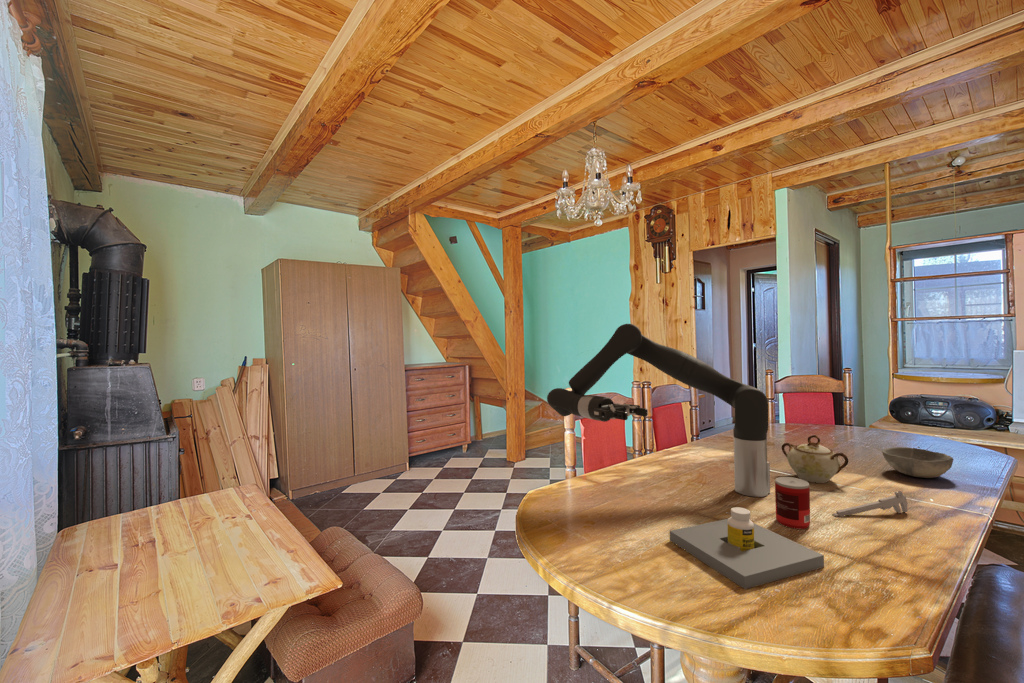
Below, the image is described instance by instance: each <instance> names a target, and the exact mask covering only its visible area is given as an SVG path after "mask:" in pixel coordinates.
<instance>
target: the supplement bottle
mask: <svg viewBox="0 0 1024 683" xmlns="http://www.w3.org/2000/svg"><path fill="white" fill-rule="evenodd" d="M727 519H728V523H727V524H728V544H730V545H732V546H733V547H735V548H737V549H739V550H741V551H746V550H750V549H754V524H753V523H754V522H753V521H752V520H751V511H750V510H749V509H747V508H745V507H739V506H736V507H732V508H730V517H728V518H727Z"/></svg>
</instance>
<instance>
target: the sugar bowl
mask: <svg viewBox="0 0 1024 683" xmlns="http://www.w3.org/2000/svg"><path fill="white" fill-rule="evenodd" d="M812 438H813V439H814V438H816V439H817V441H816V442H811V439H812ZM820 443H821V439H820V437H819V436H818V435H817V434H812V435H810V436H808V438H807V443H802V444H797V445H795V444H792V443H790V442H784V443H783V444H782V445H781V452H782V453H783V454H784V456H785V457H786V459H787V462H788V465H789V466H790V468H791V470H793V472H794V473H795V474H796V476H797V478H798V479H802V480H804V481H807V482H808V483H810V482H811V483H815V482H816V484H823V483H828V482H829V481H830V480H831V479H832V478H833V477H834V476H835V475H838V474H839V473H840V472H841V471H842V470H843V469H844V468H845V467H847V465H848V464H849V459H848V456H847V455H846V454H845V453H844V452H834V451H833V450H832V449H830V448H828V447H825V446H823V445H821V444H820ZM787 446H788V447H789V449H788V452H787V451H786V450H785V448H786V447H787ZM839 457H842V458H843V459H844V462H843V464H842V465H841V460H840V458H839Z"/></svg>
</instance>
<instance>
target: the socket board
mask: <svg viewBox="0 0 1024 683" xmlns="http://www.w3.org/2000/svg"><path fill="white" fill-rule="evenodd" d="M728 519H729V518H724V519H719V520H714V521H710V522H706V523H705V522H704V523H700V524H696V525H691V526H687V527H682V528H677V529H672V530H669V542H671V541H672V542H674V543H675V544H677V545H678V546H677V545H676V546H677V547H679V546H680V547H681V548H680V547H679V548H680V549H682V548H683V549H685V550H686V551H687V552H686V551H685V550H684V551H685V552H686V553H688V552H689V553H690V554H689V553H688V554H689V555H691V554H692V555H691V556H693V557H694V556H695V557H694V558H696V559H697V560H699V561H701V562H702V563H703V564H705V565H706V566H708V567H710V568H711V569H713V570H714V571H716V572H717V573H719V574H720V575H722V576H724V577H725V578H727V579H729V580H730V581H731V582H734V583H735V584H737V585H738V586H739V587H740V588H743V589H744V590H747V589H751V588H753V587H754V588H755V587H757V586H761V585H765V584H769V583H771V582H775V581H778V580H782V579H786V578H789V577H794V576H796V575H800V574H803V573H808V572H810V571H815V570H818V569H822V568H824V567H825V557H824V556H825V555H824V554H822V553H820V552H818V551H816V550H813V549H811V548H809V547H807V546H805V545H802V544H800V543H799V542H796V541H794V540H791V539H790V538H788V537H785V536H783V535H780V534H779V533H777V532H774V531H772V530H770V529H768V528H766V527H763V526H761V525H759V524H757V523H755V522H753V524H754V549H750V550H746V551H741V550H739V549H737V548H735V547H733V546H732V545H730V544H728V524H727V523H728ZM672 542H671V543H672ZM674 543H673V544H674ZM675 544H674V545H675ZM683 549H682V550H683Z"/></svg>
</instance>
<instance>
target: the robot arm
mask: <svg viewBox="0 0 1024 683" xmlns="http://www.w3.org/2000/svg"><path fill="white" fill-rule="evenodd" d="M627 354H628V355H630V356H633V357H634V358H638V359H640V360H642V361H644V362H647V363H648V364H650V365H652V366H653V367H655V368H656V369H658V371H661V372H662V373H664V374H666V375H668V376H669V377H671V378H673V379H675V380H677V381H678V382H680V383H682V384H684V385H687V386H688V387H691V388H692V389H693V388H694V389H696V390H699V391H701V392H705V393H708V394H711V395H713V396H714V397H717V398H719V399H720V400H721V401H723V402H725V403H726V404H728V405H729V406H731V407H732V408H734V427H733V464H734V465H733V466H734V467H733V471H734V472H733V473H734V475H733V476H734V491H735V492H736V493H738V494H739V495H743V496H747V497H754V498H755V497H757V498H761V497H767V496H768V495H769V494H770V493H771V467H770V465H771V464H770V462H769V461H768V431H769V400H768V398H767V396H766V394H765V393H764V392H763V391H761V390H760V389H758V387H757V388H756V387H754V386H752V385H749V384H746V383H743V382H741V381H738V380H736V379H733V378H731V377H728V376H727V375H724V374H722V373H721V372H720V371H718V370H716V369H715V368H714V367H712V366H710V365H709V364H707V363H705V362H704V361H702V360H701V359H699V358H697V357H695V356H693V355H690V354H689V353H687V352H684V351H682V350H679V349H676V348H673V347H671V346H666V345H662V344H660V343H658V342H655V341H654V340H652V339H650V338H649V337H647V336H645V335H643V334H642V331H641V329H640V328H639V327H638V326H637V325H635V324H633V323H623V324H621V325H620V326H618V327H617V328H616V329H615V331H614V333H613V335H612V336H611V337H610V338H609V340H608V341H607V342H606V343H605V345H604V346H603V347H602V348H601V349H600V350H599V352H598V353H597V354H595V355H594V356H593V357H592V358H591V359H590V360H589V361H588V362H587V363H586V364H585V365H584V366H583V367H581V368H580V369H579V370H578V371H577V372H576V373H575V374H574V375H573V376H572V377H571V378H570V380H568V386H569V387H570V389H571V390H568V389H566V388H562V387H557V388H553V389H552V390H550V391H549V392H548V393H547V397H546V401H547V404H548V405H549V406H550V407H551V408H552V409H553V410H554V411H555V412H557V414H559V415H560V416H562V417H567V416H570V415H574V416H578V417H581V418H582V417H583V418H586V419H588V420H594V421H600V422H604V423H605V422H606V423H607V422H609V421H610V420H616V419H617V420H621V421H628V420H629V419H628V418H629V417H630V416H640V417H648V416H649V413H648V408H644V407H641V405H639V404H631V403H630V404H629V403H623V404H622V403H617V402H616V403H615V402H614V401H613V399H612V398H610V397H609V396H608V397H607V396H600V395H591V394H587V393H588V392H589V390H590V389H592V388H593V387H594V385H596V384H597V383H598V382H599V380H600V379H602V377H603V376H604V375H605V374H606V373H607V371H609V369H611V367H612V366H613V365H614V364H616V362H617V361H618V360H620V359H621V358H622V357H623V356H625V355H627ZM586 394H587V395H586Z"/></svg>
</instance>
